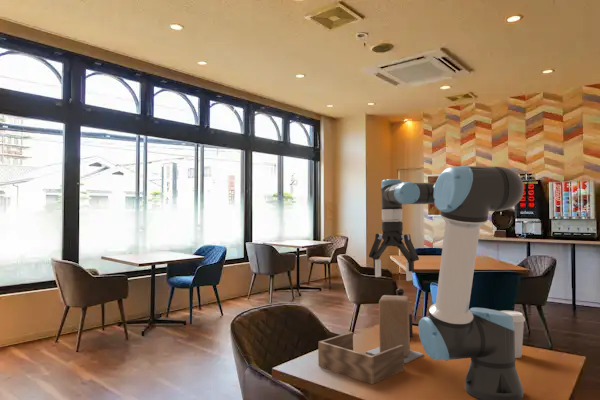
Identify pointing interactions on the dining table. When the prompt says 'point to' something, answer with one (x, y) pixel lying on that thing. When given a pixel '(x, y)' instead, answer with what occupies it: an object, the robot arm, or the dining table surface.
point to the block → (394, 322)
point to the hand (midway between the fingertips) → (393, 278)
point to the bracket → (359, 359)
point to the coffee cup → (517, 331)
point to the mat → (410, 357)
